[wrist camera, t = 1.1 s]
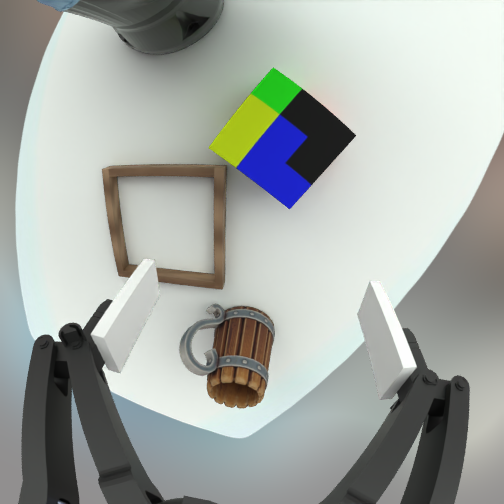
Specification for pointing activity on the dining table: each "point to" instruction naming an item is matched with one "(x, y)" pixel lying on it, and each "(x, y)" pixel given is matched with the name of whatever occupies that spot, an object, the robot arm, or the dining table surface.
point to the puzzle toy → (282, 138)
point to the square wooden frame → (169, 170)
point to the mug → (233, 355)
